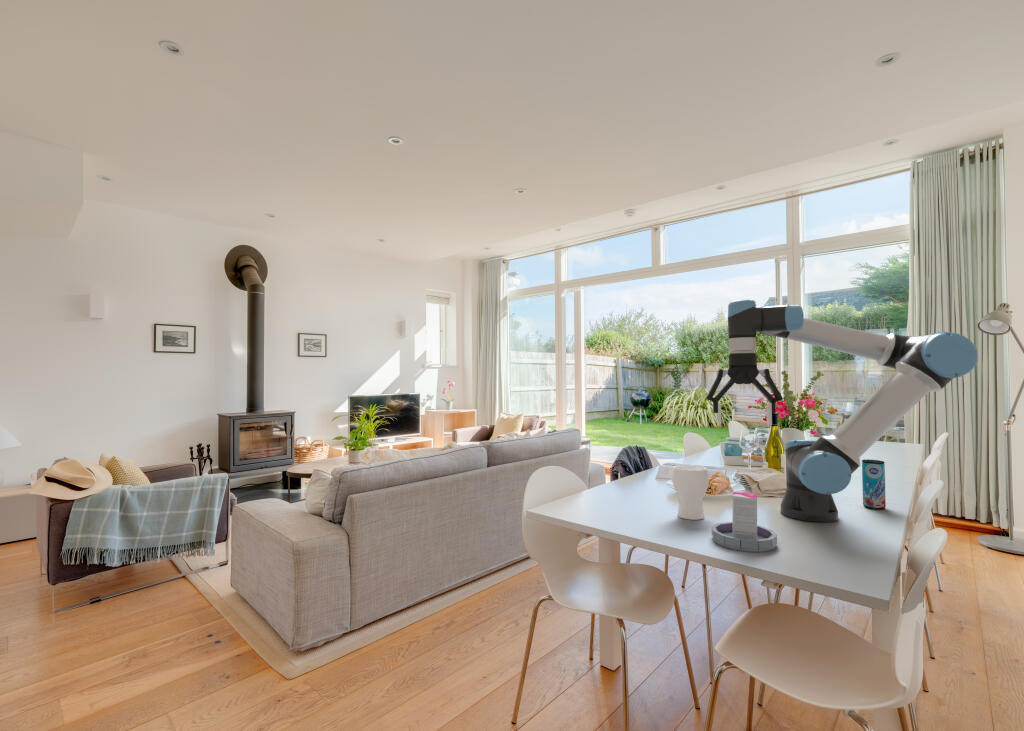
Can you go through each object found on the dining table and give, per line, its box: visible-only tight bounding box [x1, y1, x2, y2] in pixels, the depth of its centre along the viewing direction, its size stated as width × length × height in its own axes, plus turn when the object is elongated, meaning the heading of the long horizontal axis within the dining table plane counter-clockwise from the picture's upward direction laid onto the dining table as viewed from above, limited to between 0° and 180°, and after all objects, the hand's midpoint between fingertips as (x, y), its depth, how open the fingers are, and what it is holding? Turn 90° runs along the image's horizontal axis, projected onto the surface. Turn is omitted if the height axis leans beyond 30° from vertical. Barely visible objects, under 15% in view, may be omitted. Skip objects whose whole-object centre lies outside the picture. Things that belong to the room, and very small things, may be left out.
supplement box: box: [732, 491, 758, 540], centre depth 127 cm, size 6×6×12 cm
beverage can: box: [861, 459, 887, 511], centre depth 158 cm, size 6×6×15 cm
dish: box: [711, 521, 778, 553], centre depth 127 cm, size 15×15×3 cm
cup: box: [671, 464, 710, 521], centre depth 150 cm, size 11×11×15 cm
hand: (744, 424), depth 144 cm, fingers open, 13 cm apart
